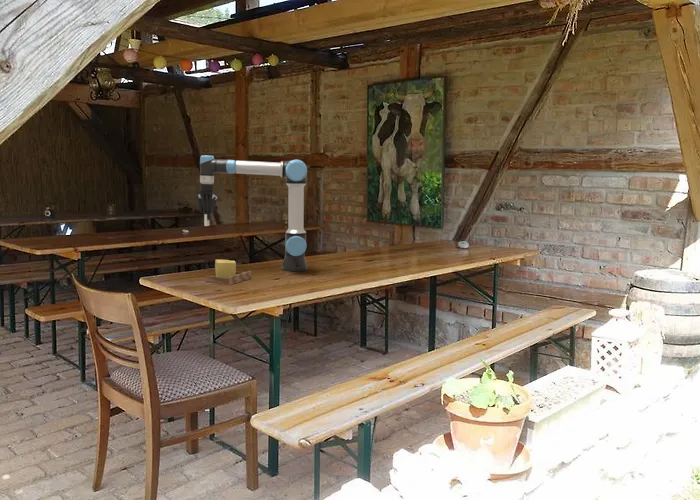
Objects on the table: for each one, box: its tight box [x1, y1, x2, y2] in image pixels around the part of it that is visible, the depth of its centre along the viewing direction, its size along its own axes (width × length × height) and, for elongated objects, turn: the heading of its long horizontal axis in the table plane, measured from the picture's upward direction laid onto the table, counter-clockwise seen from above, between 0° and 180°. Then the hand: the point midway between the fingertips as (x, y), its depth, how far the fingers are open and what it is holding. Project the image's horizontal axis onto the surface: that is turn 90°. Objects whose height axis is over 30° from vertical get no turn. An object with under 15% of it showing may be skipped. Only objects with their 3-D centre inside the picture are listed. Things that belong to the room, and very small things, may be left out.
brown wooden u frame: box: [205, 270, 252, 286], centre depth 324 cm, size 20×15×4 cm
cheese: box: [214, 259, 237, 278], centre depth 326 cm, size 10×11×10 cm
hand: (206, 225), depth 341 cm, fingers closed
